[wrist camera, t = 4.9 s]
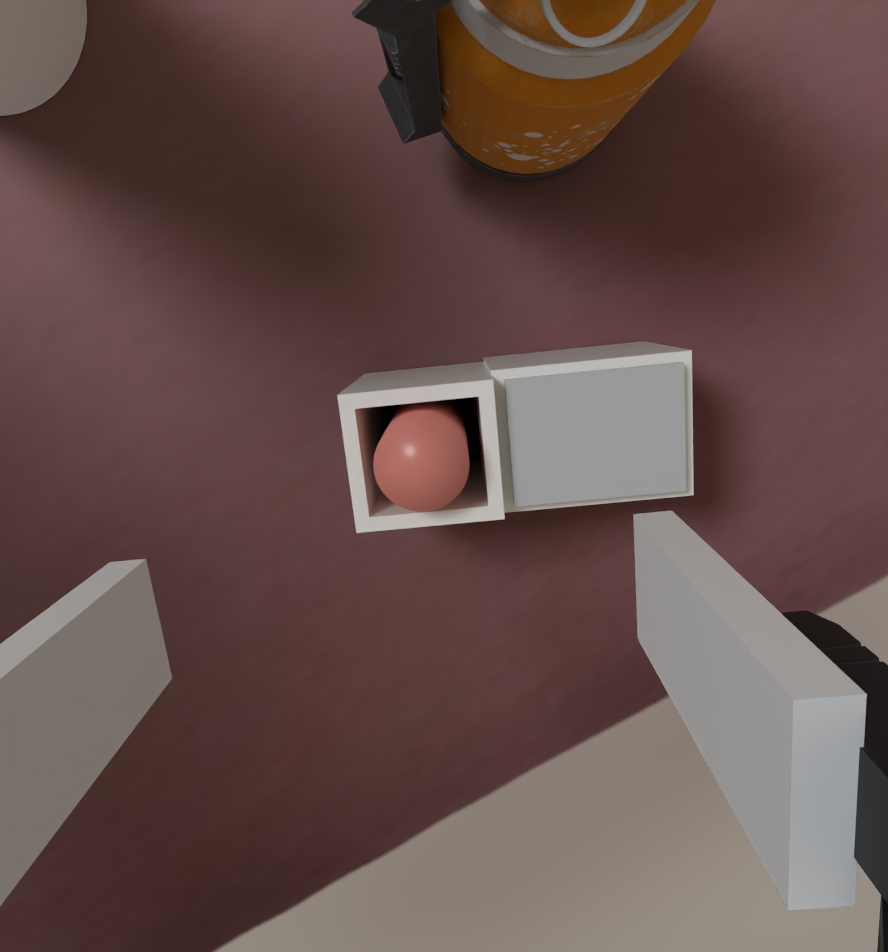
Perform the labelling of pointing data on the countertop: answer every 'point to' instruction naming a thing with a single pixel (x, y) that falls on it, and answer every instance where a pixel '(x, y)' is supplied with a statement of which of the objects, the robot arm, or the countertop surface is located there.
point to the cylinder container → (38, 50)
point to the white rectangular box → (538, 431)
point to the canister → (524, 72)
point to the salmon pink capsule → (423, 455)
